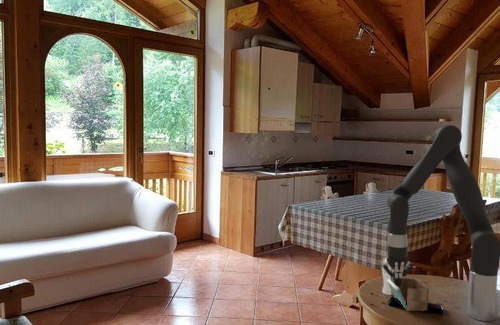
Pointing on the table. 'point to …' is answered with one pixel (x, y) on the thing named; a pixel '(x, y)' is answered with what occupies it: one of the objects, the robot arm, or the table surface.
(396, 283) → the robot arm
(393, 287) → the teal panel
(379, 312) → the table surface
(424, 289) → the crate
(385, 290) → the beer glass
